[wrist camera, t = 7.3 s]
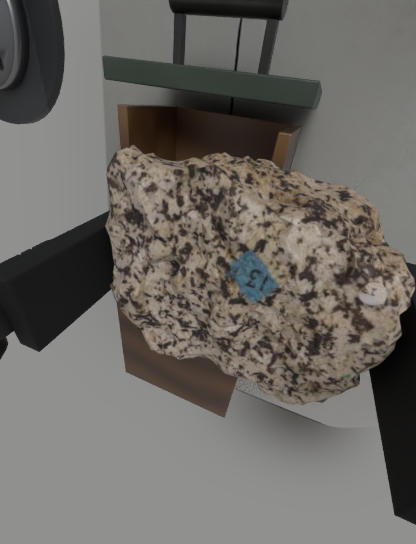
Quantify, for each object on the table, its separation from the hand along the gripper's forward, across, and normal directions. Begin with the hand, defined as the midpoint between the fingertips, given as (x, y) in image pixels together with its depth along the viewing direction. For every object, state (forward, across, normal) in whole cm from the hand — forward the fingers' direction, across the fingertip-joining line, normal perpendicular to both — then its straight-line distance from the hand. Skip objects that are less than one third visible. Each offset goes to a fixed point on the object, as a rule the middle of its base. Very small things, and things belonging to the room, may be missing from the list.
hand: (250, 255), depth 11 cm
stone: (0, 0, 0) cm, 0 cm away
